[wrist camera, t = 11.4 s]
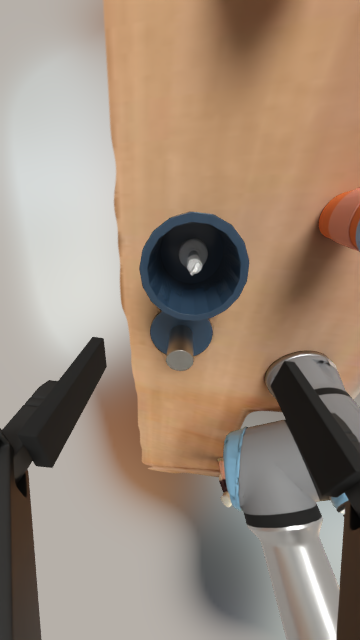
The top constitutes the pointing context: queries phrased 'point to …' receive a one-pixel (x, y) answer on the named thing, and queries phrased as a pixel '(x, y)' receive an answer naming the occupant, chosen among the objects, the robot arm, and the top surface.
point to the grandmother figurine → (223, 484)
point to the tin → (203, 287)
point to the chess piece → (193, 255)
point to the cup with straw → (342, 219)
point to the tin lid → (180, 339)
